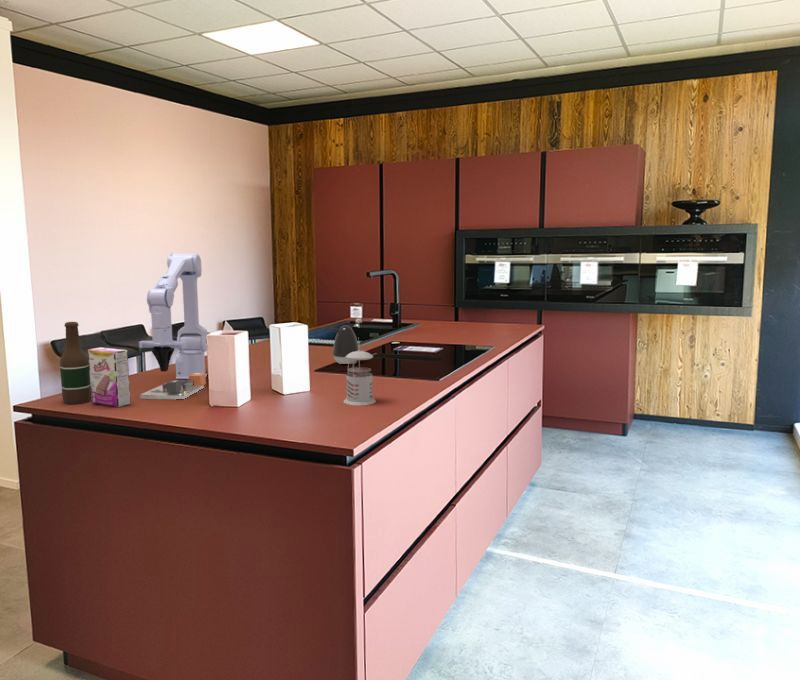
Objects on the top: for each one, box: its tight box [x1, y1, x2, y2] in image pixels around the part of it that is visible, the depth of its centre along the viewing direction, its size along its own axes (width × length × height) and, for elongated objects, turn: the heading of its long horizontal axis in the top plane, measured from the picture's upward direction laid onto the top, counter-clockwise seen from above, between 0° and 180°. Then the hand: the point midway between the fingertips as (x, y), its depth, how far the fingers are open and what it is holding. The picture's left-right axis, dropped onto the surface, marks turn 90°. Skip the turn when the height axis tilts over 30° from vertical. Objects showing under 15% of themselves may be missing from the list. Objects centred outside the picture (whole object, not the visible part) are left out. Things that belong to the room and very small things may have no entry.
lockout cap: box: [188, 373, 207, 386], centre depth 217 cm, size 4×4×4 cm
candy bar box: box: [87, 346, 132, 408], centre depth 192 cm, size 11×5×16 cm, turn 65°
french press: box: [343, 318, 377, 406], centre depth 194 cm, size 10×12×25 cm
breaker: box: [165, 379, 182, 393], centre depth 202 cm, size 3×4×3 cm
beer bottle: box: [59, 321, 92, 405], centre depth 194 cm, size 8×8×24 cm
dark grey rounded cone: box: [331, 325, 359, 365], centre depth 256 cm, size 10×10×15 cm
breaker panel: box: [139, 379, 205, 400], centre depth 206 cm, size 14×15×3 cm
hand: (164, 370), depth 202 cm, fingers closed
